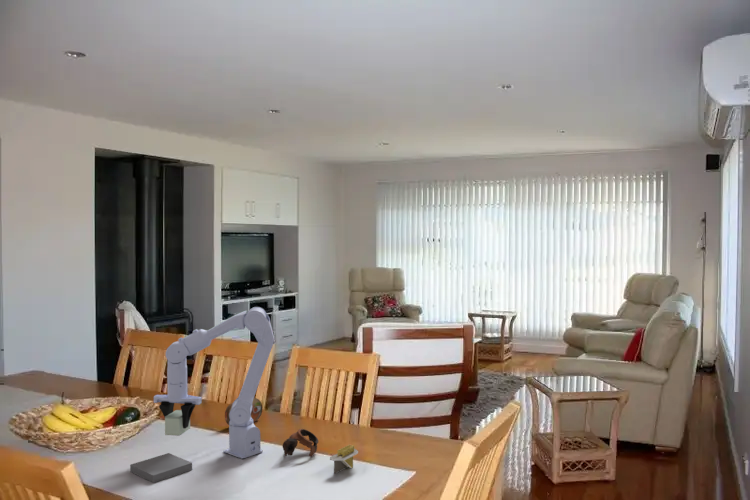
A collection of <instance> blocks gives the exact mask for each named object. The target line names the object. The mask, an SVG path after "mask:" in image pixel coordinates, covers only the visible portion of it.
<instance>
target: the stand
mask: <svg viewBox="0 0 750 500" xmlns="http://www.w3.org/2000/svg"><path fill="white" fill-rule="evenodd" d="M129 467H130V469H129V471H130V473H132V474H134V475H136V476H139V477H140V478H143V479H145V480H147V481H148V482H150V483H153V484H154V483H156V482H160V481H162V480H163V481H164V480H165V479H168V478H172V477H175V476H177V475H178V476H179V475H180V474H183V473H187V472H190V471H192V470H193V462H191V461H189V460H187V459H184V458H181V457H179V456H177V455H174V454H172V453H170V452H168V453H165V454H161V455H158V456H154V457H151V458H148V459H144V460H142V461H141V460H140V461H138V462H134V463H132V464H130V465H129Z"/></svg>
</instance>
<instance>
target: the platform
mask: <svg viewBox="0 0 750 500" xmlns="http://www.w3.org/2000/svg"><path fill="white" fill-rule="evenodd" d="M358 454H359V450H357V448H355V445H352V444H348V445H346V446H344V447H341V448H340V449H337V453H336V454H333V455H331V456H330V457H329V461H333V474H334V475H335V474H338V473H339V472H341V471H343V470H344V469H347V468H349V469H352V468H354V456H356V455H358Z"/></svg>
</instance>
